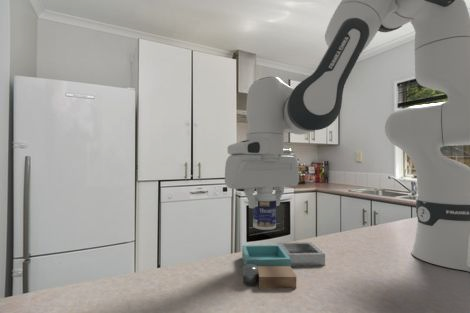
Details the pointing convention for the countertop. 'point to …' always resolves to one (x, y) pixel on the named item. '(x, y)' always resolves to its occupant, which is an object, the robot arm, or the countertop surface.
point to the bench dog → (250, 274)
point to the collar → (303, 253)
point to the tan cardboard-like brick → (276, 277)
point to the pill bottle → (265, 209)
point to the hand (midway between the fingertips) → (264, 206)
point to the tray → (265, 255)
